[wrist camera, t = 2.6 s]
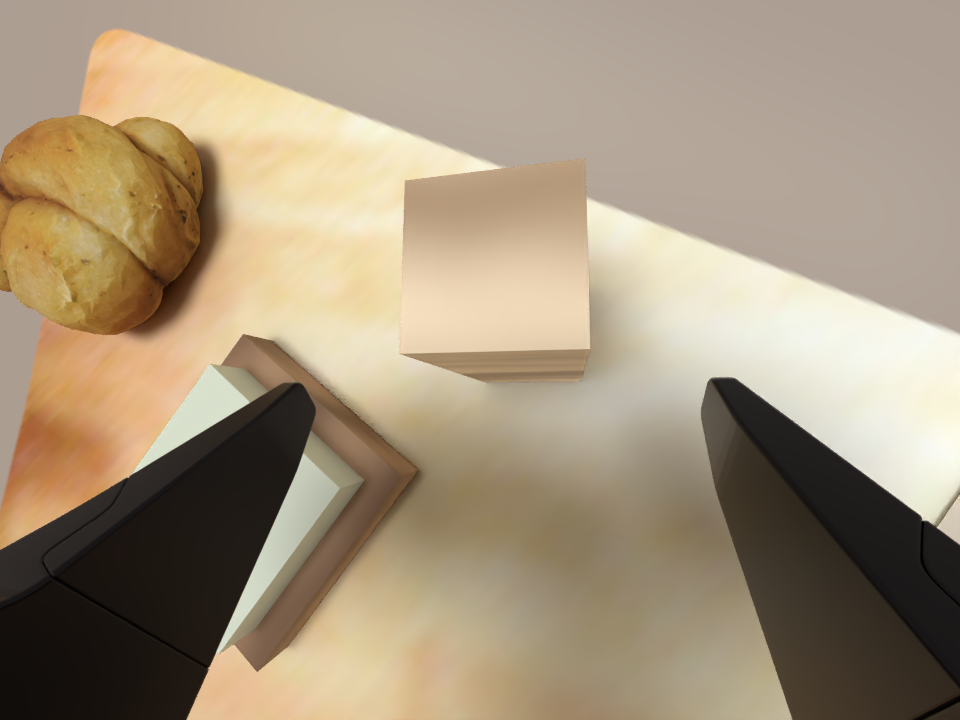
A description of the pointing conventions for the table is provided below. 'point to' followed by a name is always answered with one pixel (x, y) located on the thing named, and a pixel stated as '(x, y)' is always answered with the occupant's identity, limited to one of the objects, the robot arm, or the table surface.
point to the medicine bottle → (952, 522)
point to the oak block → (498, 273)
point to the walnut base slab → (357, 519)
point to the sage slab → (306, 505)
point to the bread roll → (97, 218)
